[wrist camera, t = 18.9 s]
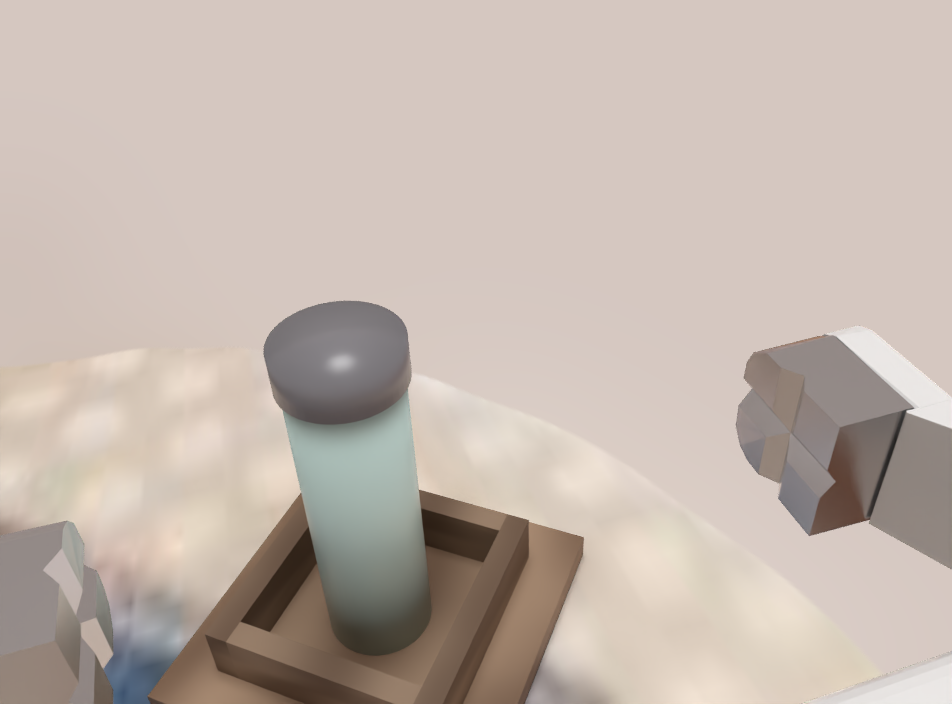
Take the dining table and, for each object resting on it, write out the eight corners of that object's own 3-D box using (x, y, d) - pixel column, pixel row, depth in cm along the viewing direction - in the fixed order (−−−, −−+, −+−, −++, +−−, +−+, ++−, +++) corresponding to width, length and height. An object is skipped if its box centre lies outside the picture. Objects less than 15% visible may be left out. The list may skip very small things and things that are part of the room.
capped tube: (318, 660, 37) (250, 388, 28) (333, 568, 41) (277, 302, 32) (434, 658, 37) (402, 384, 28) (438, 565, 40) (411, 298, 32)
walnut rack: (155, 712, 37) (130, 660, 34) (325, 480, 47) (314, 428, 44) (470, 841, 32) (465, 791, 30) (582, 554, 42) (585, 500, 40)
